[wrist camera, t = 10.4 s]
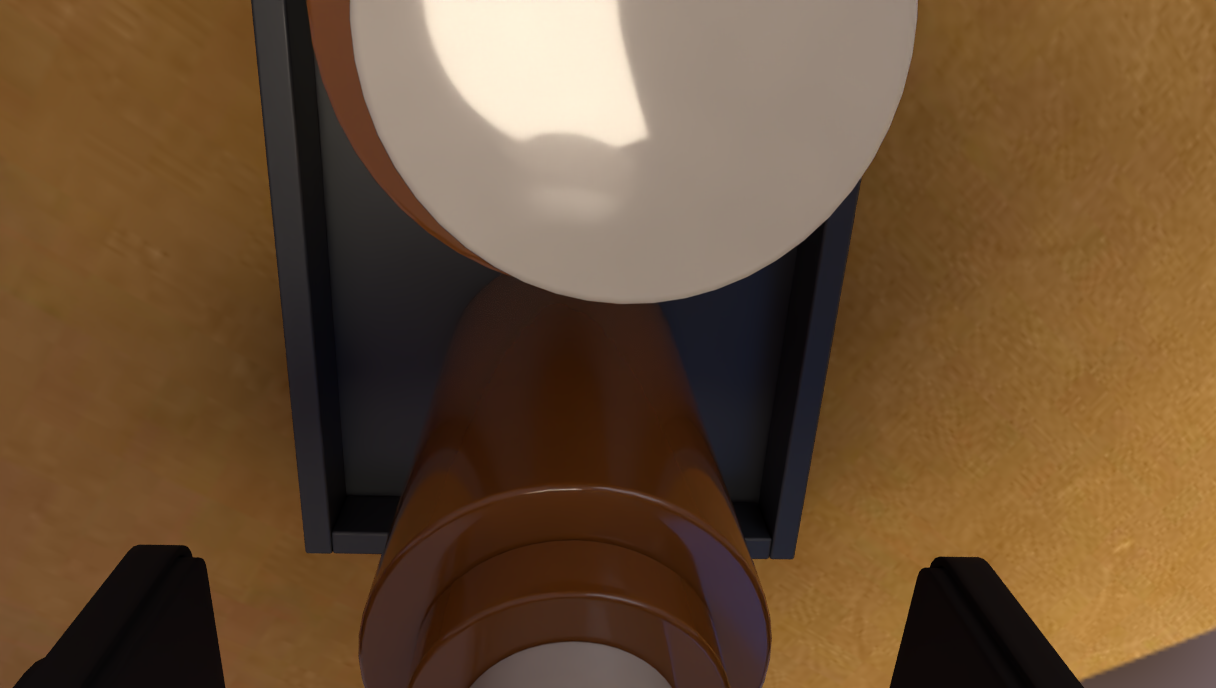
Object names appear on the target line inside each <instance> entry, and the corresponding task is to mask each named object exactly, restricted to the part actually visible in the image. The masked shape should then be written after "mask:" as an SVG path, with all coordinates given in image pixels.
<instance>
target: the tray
mask: <svg viewBox="0 0 1216 688" xmlns="http://www.w3.org/2000/svg"><path fill="white" fill-rule="evenodd" d="M251 4H252V15H253V25H254V35H255V45H256V55H257V65H258V75H259V85H260V95H261V105H262V116H263V126H264V136H265V146H266V156H267V166H268V176H269V186H270V196H271V206H272V217H273V227H274V237H275V247H276V257H277V267H278V277H279V287H280V297H281V307H282V318H283V328H284V338H285V348H286V358H287V368H288V378H289V388H290V398H291V408H292V419H293V429H294V439H295V449H296V459H297V469H298V479H299V489H300V499H301V510H302V520H303V530H304V540H305V550H306V553H332V551H333V552H334V553H350V554H382V552H383V549H384V546H385V542H386V539H387V536H388V533H389V530H390V527H391V524H392V520H393V517H394V514H395V511H396V508H397V505H398V502H399V498H400V495H401V492H402V489H403V486H404V483H405V480H406V476H407V473H408V470H409V467H410V464H411V461H412V458H413V454H414V451H415V448H416V445H417V442H418V439H419V436H420V432H421V429H422V426H423V423H424V420H425V417H426V414H427V411H428V407H429V404H430V401H431V398H432V395H433V392H434V389H435V385H436V382H437V379H438V376H439V373H440V370H441V367H442V363H443V360H444V357H445V354H446V351H447V348H448V345H449V341H450V338H451V335H452V333H453V330H454V327H455V324H456V323H457V321H458V319H459V317H460V315H461V313H462V311H463V310H464V309H465V307H466V306H467V305H468V303H469V302H470V300H471V299H472V298H473V297H474V296H475V295H476V294H477V293H478V292H479V291H480V290H481V289H482V288H483V287H485V286H486V285H487V284H489V283H490V282H491V281H492V280H494V279H495V278H497V277H499V276H500V275H502V273H500V272H497V271H494V270H491V269H489V268H486V267H484V266H482V265H480V264H478V263H476V262H474V261H472V260H470V259H469V258H467V257H465V256H463V255H461V254H459V253H457V252H455V251H454V250H452V249H451V248H449V247H448V246H446V245H445V244H443V243H442V242H440V241H439V240H437V239H436V238H434V237H433V236H432V235H430V234H429V233H427V232H426V231H425V230H424V229H423V228H421V227H420V226H419V225H418V224H417V223H416V222H415V221H413V220H412V219H411V218H410V217H409V216H408V215H407V214H405V213H404V212H403V211H402V210H401V209H400V208H399V207H398V206H397V205H396V204H395V203H394V201H393V200H392V199H391V198H390V197H389V196H388V195H387V194H386V193H385V192H384V190H383V189H382V188H381V187H380V186H379V185H378V184H377V183H376V181H375V180H374V178H373V177H372V176H371V174H370V173H369V171H368V170H367V169H366V167H365V166H364V164H363V163H362V162H361V160H360V159H359V157H358V156H357V154H356V153H355V151H354V150H353V148H352V146H351V144H350V142H349V140H348V139H347V137H346V135H345V133H344V131H343V129H342V127H341V126H340V124H339V122H338V120H337V118H336V116H335V113H334V111H333V108H332V106H331V103H330V101H329V98H328V95H327V93H326V90H325V88H324V85H323V83H322V80H321V76H320V72H319V68H318V64H317V61H316V57H315V53H314V49H313V45H312V40H311V33H310V26H309V18H308V11H307V4H306V0H251ZM861 178H862V177H861ZM861 178H860V180H859V181H858V183H857V184H856V186H855V187H854V189H853V190H852V191H851V192H850V194H849V195H848V196H847V197H846V198H845V199H844V201H843V202H842V203H841V204H840V205H839V206H838V208H837V209H836V210H835V211H834V212H833V213H832V215H831V216H830V217H829V218H828V219H827V220H826V221H824V222H823V223H822V224H821V225H820V226H819V227H818V228H817V229H816V230H815V231H814V232H813V233H812V234H810V235H809V236H808V237H807V238H806V239H805V240H804V241H803V242H801V243H800V244H798V245H797V246H796V247H794V248H793V249H792V250H790V251H789V252H787V253H786V254H785V255H783V256H782V257H781V258H779V259H778V260H776V261H775V262H773V263H771V264H769V265H768V266H766V267H764V268H762V269H761V270H759V271H757V272H755V273H753V274H752V275H750V276H748V277H746V278H744V279H741V280H739V281H736V282H734V283H731V284H729V285H727V286H724V287H722V288H719V289H717V290H714V291H710V292H706V293H703V294H699V295H696V296H692V297H688V298H685V299H678V300H672V301H665V302H658V303H657V304H658V305H659V307H660V308H661V310H662V311H663V313H664V315H665V316H666V318H667V320H668V322H669V325H670V327H671V330H672V332H673V335H674V338H675V340H676V343H677V346H678V349H679V352H680V355H681V358H682V360H683V363H684V366H685V369H686V372H687V375H688V378H689V380H690V383H691V386H692V389H693V392H694V395H695V397H696V400H697V403H698V406H699V409H700V412H701V415H702V417H703V420H704V423H705V426H706V429H707V432H708V435H709V437H710V440H711V443H712V446H713V449H714V452H715V455H716V457H717V460H718V463H719V466H720V469H721V472H722V474H723V477H724V480H725V483H726V486H727V489H728V492H729V494H730V497H731V500H732V503H733V506H734V509H735V512H736V514H737V517H738V520H739V523H740V526H741V529H742V531H743V534H744V537H745V540H746V543H747V546H748V549H749V551H750V554H751V557H752V559H768V558H769V557H770V558H771V559H793V558H794V555H795V549H796V543H797V538H798V532H799V527H800V521H801V515H802V510H803V504H804V498H805V493H806V487H807V482H808V476H809V470H810V465H811V459H812V453H813V448H814V442H815V437H816V431H817V425H818V420H819V414H820V408H821V403H822V397H823V392H824V386H825V380H826V375H827V369H828V363H829V358H830V352H831V347H832V341H833V335H834V330H835V324H836V318H837V313H838V307H839V302H840V296H841V290H842V285H843V279H844V273H845V268H846V262H847V256H848V251H849V245H850V240H851V234H852V228H853V223H854V217H855V211H856V206H857V200H858V195H859V189H860V183H861Z"/></svg>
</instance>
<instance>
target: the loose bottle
mask: <svg viewBox="0 0 1216 688" xmlns="http://www.w3.org/2000/svg"><path fill="white" fill-rule="evenodd" d="M771 642H772V633H771V620H770V614H769V610H768V606H767V602H766V597H765V594H764V591H763V589H762V586H761V583H760V580H759V577H758V574H757V571H756V569H755V566H754V563H753V560H752V557H751V554H750V551H749V549H748V546H747V543H746V540H745V537H744V534H743V531H742V529H741V526H740V523H739V520H738V517H737V514H736V512H735V509H734V506H733V503H732V500H731V497H730V494H729V492H728V489H727V486H726V483H725V480H724V477H723V474H722V472H721V469H720V466H719V463H718V460H717V457H716V455H715V452H714V449H713V446H712V443H711V440H710V437H709V435H708V432H707V429H706V426H705V423H704V420H703V417H702V415H701V412H700V409H699V406H698V403H697V400H696V397H695V395H694V392H693V389H692V386H691V383H690V380H689V378H688V375H687V372H686V369H685V366H684V363H683V360H682V358H681V355H680V352H679V349H678V346H677V343H676V340H675V338H674V335H673V332H672V330H671V327H670V325H669V322H668V320H667V318H666V316H665V315H664V313H663V311H662V310H661V308H660V307H659V305H658V304H657V303H647V304H613V303H603V302H593V301H585V300H581V299H576V298H572V297H568V296H563V295H559V294H555V293H552V292H549V291H546V290H544V289H541V288H538V287H535V286H533V285H530V284H527V283H524V282H522V281H520V280H518V279H516V278H513V277H511V276H508V275H505V274H502V275H500V276H499V277H497V278H495V279H494V280H492V281H491V282H490V283H489V284H487V285H486V286H485V287H483V288H482V289H481V290H480V291H479V292H478V293H477V294H476V295H475V296H474V297H473V298H472V299H471V300H470V302H469V303H468V305H467V306H466V307H465V309H464V310H463V311H462V313H461V315H460V317H459V319H458V321H457V323H456V324H455V327H454V330H453V333H452V335H451V338H450V341H449V345H448V348H447V351H446V354H445V357H444V360H443V363H442V367H441V370H440V373H439V376H438V379H437V382H436V385H435V389H434V392H433V395H432V398H431V401H430V404H429V407H428V411H427V414H426V417H425V420H424V423H423V426H422V429H421V432H420V436H419V439H418V442H417V445H416V448H415V451H414V454H413V458H412V461H411V464H410V467H409V470H408V473H407V476H406V480H405V483H404V486H403V489H402V492H401V495H400V498H399V502H398V505H397V508H396V511H395V514H394V517H393V520H392V524H391V527H390V530H389V533H388V536H387V539H386V542H385V546H384V549H383V552H382V555H381V558H380V561H379V564H378V568H377V571H376V574H375V577H374V580H373V583H372V586H371V590H370V593H369V596H368V599H367V602H366V605H365V608H364V611H363V615H362V621H361V626H360V631H359V663H360V669H361V675H362V680H363V683H364V686H365V688H762V685H763V683H764V680H765V676H766V672H767V668H768V664H769V660H770V653H771Z"/></svg>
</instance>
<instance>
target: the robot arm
mask: <svg viewBox="0 0 1216 688" xmlns="http://www.w3.org/2000/svg"><path fill="white" fill-rule="evenodd" d="M13 688H225V682H224V676H223V670H222V663H221V657H220V651H219V644H218V638H217V631H216V625H215V619H214V612H213V606H212V600H211V593H210V587H209V581H208V574H207V568H206V564H205V561H204V560H203V559H202V558H193V557H192V553H191V551H190V549H189V548H188V547H187V546H184V545H137V546H134V547H133V548H131V549H130V550H129V551H128V552H127V554H126V555H125V556H124V558H123V559H122V560H121V561H120V563H119V564H118V565H117V566H116V568H115V569H114V570H113V572H112V573H111V574H110V575H109V577H108V578H107V579H106V580H105V582H104V583H103V584H102V586H101V587H100V588H99V589H98V591H97V592H96V593H95V594H94V596H93V597H92V598H91V600H90V601H89V602H88V603H87V605H86V606H85V607H84V608H83V610H82V611H81V612H80V614H79V615H78V616H77V617H76V619H75V620H74V621H73V622H72V624H71V625H70V626H69V628H68V629H67V630H66V631H65V633H64V634H63V635H62V637H61V638H60V639H59V640H58V642H57V643H56V644H55V645H54V647H53V648H52V649H51V651H50V652H49V653H48V654H47V656H46V657H45V658H43V659H41V660H39V661H37V662H35V663H34V664H33V665H32V666H31V667H30V668H29V669H28V670H27V671H26V672H25V673H24V674H23V676H22V677H21V678H20V679H19V681H18V682H17V683H16V684H15V686H14V687H13ZM890 688H1084V687H1083V686H1082V685H1081V683H1080V682H1079V681H1078V680H1077V678H1076V677H1075V676H1074V674H1073V673H1072V672H1071V670H1070V669H1069V668H1068V666H1067V665H1066V664H1065V663H1064V661H1063V660H1062V659H1061V657H1060V656H1059V655H1058V653H1057V652H1056V651H1055V649H1054V648H1053V647H1052V646H1051V644H1050V643H1049V642H1048V640H1047V639H1046V638H1045V636H1044V635H1043V634H1042V633H1041V631H1040V630H1039V629H1038V627H1037V626H1036V625H1035V623H1034V622H1033V621H1032V619H1031V618H1030V617H1029V616H1028V614H1027V613H1026V612H1025V610H1024V609H1023V608H1022V606H1021V605H1020V604H1019V602H1018V601H1017V600H1016V599H1015V597H1014V596H1013V595H1012V593H1011V592H1010V591H1009V589H1008V588H1007V587H1006V585H1005V584H1004V583H1003V582H1002V580H1001V579H1000V578H999V576H998V575H997V574H996V572H995V571H994V570H993V569H992V567H991V566H990V565H989V564H988V563H987V562H986V561H985V560H984V559H982V558H979V557H937V558H935V559H934V560H933V562H932V563H931V566H930V568H923V569H921V571H920V572H919V574H918V577H917V581H916V585H915V589H914V593H913V597H912V601H911V605H910V609H909V613H908V617H907V621H906V625H905V629H904V633H903V637H902V641H901V644H900V648H899V652H898V656H897V660H896V664H895V668H894V672H893V676H892V680H891V684H890Z"/></svg>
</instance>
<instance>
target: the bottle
mask: <svg viewBox="0 0 1216 688" xmlns="http://www.w3.org/2000/svg"><path fill="white" fill-rule="evenodd" d="M306 4H307V11H308V18H309V26H310V33H311V40H312V45H313V49H314V53H315V57H316V61H317V64H318V68H319V72H320V76H321V80H322V83H323V85H324V88H325V90H326V93H327V95H328V98H329V101H330V103H331V106H332V108H333V111H334V113H335V116H336V118H337V120H338V122H339V124H340V126H341V127H342V129H343V131H344V133H345V135H346V137H347V139H348V140H349V142H350V144H351V146H352V148H353V150H354V151H355V153H356V154H357V156H358V157H359V159H360V160H361V162H362V163H363V164H364V166H365V167H366V169H367V170H368V171H369V173H370V174H371V176H372V177H373V178H374V180H375V181H376V183H377V184H378V185H379V186H380V187H381V188H382V189H383V190H384V192H385V193H386V194H387V195H388V196H389V197H390V198H391V199H392V200H393V201H394V203H395V204H396V205H397V206H398V207H399V208H400V209H401V210H402V211H403V212H404V213H405V214H407V215H408V216H409V217H410V218H411V219H412V220H413V221H415V222H416V223H417V224H418V225H419V226H420V227H421V228H423V229H424V230H425V231H426V232H427V233H429V234H430V235H432V236H433V237H434V238H436V239H437V240H439V241H440V242H442V243H443V244H445V245H446V246H448V247H449V248H451V249H452V250H454V251H455V252H457V253H459V254H461V255H463V256H465V257H467V258H469V259H470V260H472V261H474V262H476V263H478V264H480V265H482V266H484V267H486V268H489V269H491V270H494V271H497V272H500V273H502V274H505V275H508V276H511V277H513V278H516V279H518V280H520V281H522V282H524V283H527V284H530V285H533V286H535V287H538V288H541V289H544V290H546V291H549V292H552V293H555V294H559V295H563V296H568V297H572V298H576V299H581V300H585V301H593V302H603V303H613V304H647V303H658V302H665V301H672V300H678V299H685V298H688V297H692V296H696V295H699V294H703V293H706V292H710V291H714V290H717V289H719V288H722V287H724V286H727V285H729V284H731V283H734V282H736V281H739V280H741V279H744V278H746V277H748V276H750V275H752V274H753V273H755V272H757V271H759V270H761V269H762V268H764V267H766V266H768V265H769V264H771V263H773V262H775V261H776V260H778V259H779V258H781V257H782V256H783V255H785V254H786V253H787V252H789V251H790V250H792V249H793V248H794V247H796V246H797V245H798V244H800V243H801V242H803V241H804V240H805V239H806V238H807V237H808V236H809V235H810V234H812V233H813V232H814V231H815V230H816V229H817V228H818V227H819V226H820V225H821V224H822V223H823V222H824V221H826V220H827V219H828V218H829V217H830V216H831V215H832V213H833V212H834V211H835V210H836V209H837V208H838V206H839V205H840V204H841V203H842V202H843V201H844V199H845V198H846V197H847V196H848V195H849V194H850V192H851V191H852V190H853V189H854V187H855V186H856V184H857V183H858V181H859V180H860V178H861V177H862V175H863V174H864V172H865V171H866V169H867V168H868V166H869V165H870V163H871V162H872V160H873V158H874V157H875V155H876V153H877V151H878V149H879V147H880V145H881V143H882V141H883V139H884V137H885V135H886V133H887V131H888V129H889V128H890V125H891V122H892V120H893V117H894V114H895V112H896V109H897V107H898V104H899V101H900V99H901V96H902V93H903V90H904V86H905V82H906V78H907V74H908V70H909V66H910V62H911V58H912V54H913V46H914V38H915V31H916V23H917V9H918V0H306Z"/></svg>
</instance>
